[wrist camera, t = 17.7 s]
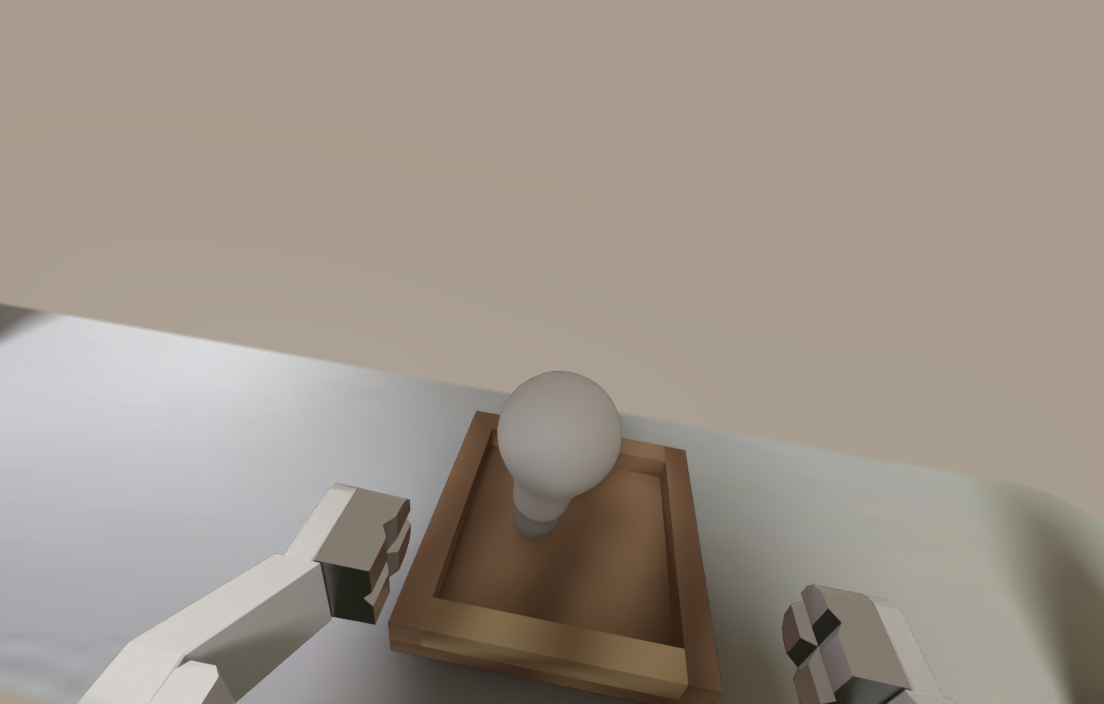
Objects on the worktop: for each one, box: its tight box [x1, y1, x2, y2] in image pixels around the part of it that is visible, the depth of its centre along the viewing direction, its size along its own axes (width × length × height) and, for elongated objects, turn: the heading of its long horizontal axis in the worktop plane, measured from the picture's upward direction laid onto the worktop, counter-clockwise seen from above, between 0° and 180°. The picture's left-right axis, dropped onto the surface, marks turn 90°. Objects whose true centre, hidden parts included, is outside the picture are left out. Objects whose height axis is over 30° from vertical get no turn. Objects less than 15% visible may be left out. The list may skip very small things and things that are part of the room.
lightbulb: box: [497, 371, 622, 539], centre depth 25 cm, size 6×6×11 cm
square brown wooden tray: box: [388, 411, 722, 704], centre depth 28 cm, size 15×15×2 cm
